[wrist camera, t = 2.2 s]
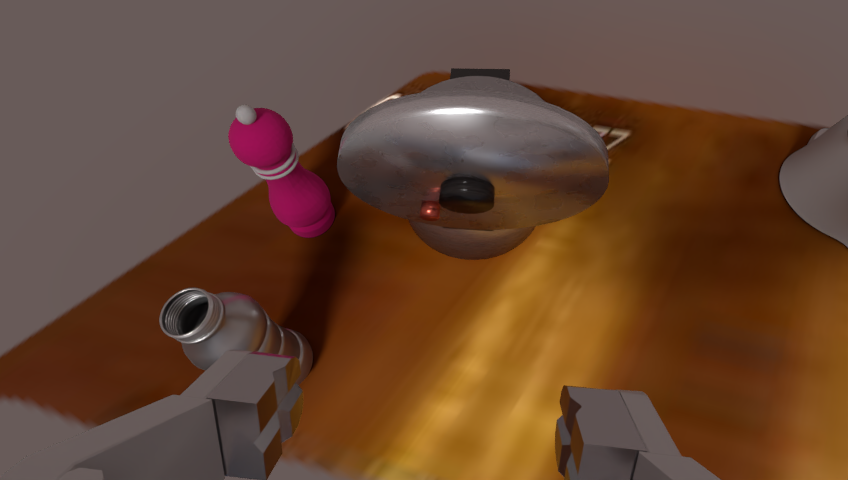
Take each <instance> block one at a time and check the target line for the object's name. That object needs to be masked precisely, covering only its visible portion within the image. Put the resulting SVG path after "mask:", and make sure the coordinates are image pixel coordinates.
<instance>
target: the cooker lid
mask: <svg viewBox="0 0 848 480" xmlns="http://www.w3.org/2000/svg"><path fill="white" fill-rule="evenodd" d="M337 170H338V174H339V177H340V179H341V180H342V182H343V183H344V185H345V186H346V187H347V188H348V189H349V190H350V191H351V192H352V193H353V194H354V195H355V196H357V197H358V198H360V199H361V200H363V201H364V202H366V203H368V204H370V205H371V206H373V207H375V208H378V209H380V210H382V211H384V212H387V213H390V214H392V215H395V216H398V217H401V218H404V219H408V220H412V221H416V222H420V223H425V224H430V225H435V226H441V227H449V228H459V229H473V230H502V229H516V228H525V227H533V226H538V225H543V224H548V223H552V222H556V221H559V220H562V219H565V218H568V217H571V216H573V215H575V214H578V213H580V212H582V211H583V210H585V209H587V208H589V207H590V206H591V205H593V204H594V203H596V202H597V201H598V200H599V199H600V198H601V197H602V195H603V194H604V192H605V191H606V189H607V186H608V182H609V168H608V150H607V148H606V145H605V143H604V141H603V139H602V138H601V136H600V135H599V134H598V132H597V131H596V130H595V129H593V128H592V127H591V126H590V125H589V124H588V123H587V122H585V121H584V120H582V119H581V118H579V117H578V116H576V115H574V114H573V113H571V112H568V111H566V110H564V109H562V108H560V107H558V106H555V105H552V104H549V103H547V102H544V101H541V100H538V99H534V98H530V97H525V96H521V95H517V94H511V93H504V92H497V91H488V90H472V89H461V90H439V91H430V92H422V93H417V94H412V95H407V96H402V97H399V98H396V99H393V100H389V101H386V102H384V103H382V104H379V105H377V106H375V107H373V108H370V109H369V110H367V111H366V112H364V113H362V114H361V115H359V116H358V117H357V118H356V119H355V120H354V121H353V122H351V123H350V124H349V126H348V127H347V129H346V130H345V132H344V134H343V136H342V139H341V143H340V149H339V154H338V160H337Z"/></svg>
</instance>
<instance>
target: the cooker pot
mask: <svg viewBox="0 0 848 480" xmlns="http://www.w3.org/2000/svg"><path fill="white" fill-rule="evenodd" d="M509 78H510V70H509V69H451V76H450V80H447V81H444V82H440V83H438V84H436V85H433V86H431V87H429V88H428V89H426V90H424V91H422V92H430V91H439V90H461V89H472V90H488V91H497V92H504V93H511V94H517V95H521V96H525V97H530V98H534V99H538V100H541V101H544V100H542V99H541V98H540V97H539V96H538V95H537V94H535V93H534V92H532V91H531V90H529V89H527V88H525V87H523V86H521V85H519V84H517V83H514V82H512V81H509ZM422 92H421V93H422ZM409 223H410V225H411V227H412V228H413V230H414V231H415V233H416V234H417V235H418V237H419V238H420V239H421V240H422V241H424V242H425V243H426V244H427V245H429V246H430V247H431V248H433V249H435V250H436V251H438V252H440V253H443V254H445V255H448V256H451V257H455V258H460V259H467V260H479V259H488V258H492V257H496V256H499V255H502V254H504V253H507V252H509V251H510V250H512V249H514V248H516V247H517V246H518V245H520V244H521V243H522V242H523V241H524V240H525V239H527V238H528V236H529V235H530V234H531V233H532V231H533V230H534V228H535V226H533V227H525V228H516V229H502V230H473V229H459V228H449V227H441V226H435V225H430V224H425V223H420V222H416V221H412V220H409Z"/></svg>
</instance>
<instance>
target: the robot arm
mask: <svg viewBox="0 0 848 480" xmlns="http://www.w3.org/2000/svg"><path fill="white" fill-rule="evenodd" d="M779 179H780V186H781V189H782V192H783V194H784V196H785V198H786V200H787V202H788V203H789V205H790V206H791V207H792V208H793V210H794V211H795V212H796V213H797V214H798V215H799V216H800V217H801V218H802V219H804V220H805V221H806V222H807V223H809V224H810V225H811V226H813V227H814V228H816V229H818V230H819V231H821V232H823V233H825V234H827V235H829V236H831V237H833V238H835V239H837V240H838V241H840V242H842V243H843V244H844V245H845V246H847V247H848V115H847V116H846V117H845V118H843V119H842V120H840V121H839V122H838V123H836V124H835V125H834V126H832V127H831V128H823V129H821V130H819V131H818V132H816V133H815V134H814V135H813V136H812V137H811V139H810V140H809V142H808V144H807V145H806V146H805V147H803V148H801V149H799V150H798V151H796V152H794V153H793V154H791V155H790V156H789V157H788V158H787V159H786V160H785V161H784V163H783V165H782V167H781V170H780V178H779ZM300 375H301V368H300V361H299V360H298V359H297V358H296V357H294V356H286V355H278V354H270V353H262V352H255V351H254V352H252V351H245V350H236V349H232V350H228V351H226V352H225V353H224V354H223V355H222V356H221V357H220V358H219V359H218V360H217V361H216V362H215V363H214V364H212V365H211V366H210V367H209V368H208V369H207V370H206V371H205V372H204V373H203V374H202V375H201V376H200V377H199V378H198V379H197V380H196V381H195V382H194V383H193V384H191V385H190V386H189V387H188V388H187V389H186V390H185V391H184V392H183V393H182V394H181V395H180V396H179V395H171V396H169V397H166V398H164V399H162V400H159V401H157V402H154V403H152V404H150V405H147V406H145V407H143V408H140V409H138V410H135V411H133V412H131V413H128V414H126V415H124V416H121V417H119V418H116V419H114V420H112V421H109V422H107V423H105V424H102V425H100V426H97V427H95V428H93V429H90V430H88V431H86V432H83V433H81V434H79V435H76V436H74V437H71V438H69V439H67V440H64V441H62V442H59V443H57V444H55V445H52V446H50V447H48V448H45V449H43V450H40V451H38V452H36V453H33V454H31V455H29V456H26V457H25V458H23V459H22V460H21V461H20V462H18V463H17V464H16V465H15V466H13V467H12V468H10V469H9V470H8V471H7V472H5V473H4V474H3V475H1V476H0V480H224V479H225V476H229V477H238V478H247V479H257V480H267V479H268V477H269V475H270V473H271V472H272V470H273V468H274V467H275V465H276V463H277V462H278V460H279V458H280V456H281V455H282V444H281V443H282V442H284V441H285V440H287V439H289V438H290V437H292V436H293V434H294V432H295V430H296V428H297V427H298V424H299V421H300V418H301V414H302V409H303V391H302V390H301V388H300V387H299V386H298V384H297V383H296V381H297V379H298V378H299V376H300ZM560 405H561V410H562V414H563V415H562V416H561V417H560V418H559V419H558V420H557V424H556V432H555V453H556V461H557V467H558V471H559V472H560V473H561V474H562V475H563V476H564V480H720V479H719V478H718V477H716V476H715V475H714V474H712V473H711V472H710V471H708V470H707V469H706V468H704V467H703V466H701V465H700V464H699V463H697V462H696V461H695V460H693V459H692V458H690V457H682V456H681V454H680V452H679V451H678V449H677V447H676V445H675V443H674V442H673V440H672V438H671V436H670V435H669V433H668V431H667V429H666V428H665V426H664V424H663V422H662V421H661V419H660V417H659V415H658V414H657V412H656V410H655V408H654V406H653V405H652V403H651V401H650V399H649V398H648V396H647V395H646V394H645V393H644V392H641V391H628V390H607V389H596V388H586V387H576V386H565V385H564V386H563V389H562V391H561V397H560Z"/></svg>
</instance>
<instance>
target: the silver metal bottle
mask: <svg viewBox="0 0 848 480" xmlns="http://www.w3.org/2000/svg"><path fill="white" fill-rule="evenodd" d="M159 321H160V326H161V329H162V330H163V332H164V333H166V334H167V335H168V336H170V337H172V338H175V339H176V340H178V341H180V342H182V348H183V350H184V353H185V354H186V356H187V357H188V358H189V360H190V361H191V362H192V363H193V364H194V365H195V366H197V367H198V368H201V369H203V370H207V369H208V368H209V367H210V366H211V365H212V364H214V363H215V362H216V361H217V360H218V359H219V358H220V357H221V356H222V355H223V354H224V353H225V352H226V351H228V350H232V349H236V350H245V351H252V352H254V351H255V352H262V353H270V354H278V355H286V356H294V357H296V358H297V359H298V360H299V361H300V368H301V375H300V376H299V378H298V379H297V381H296V383H297V384H298V385H299V384H300V383H301V382H302V381H303V380H304V379H305V378H306V377H307V375H308V374H309V372H310V370H311V367H312V363H313V352H312V348H311V346H310V344H309V342H308V341H307V339H306V338H305V337H304V336H303V335H302V334H300V333H299V332H296V331H294V330H291V329H287V328H283V327H281V326H279V325H277V324H276V323H275V322H274V321H273V320H271V319H270V318H269V316H268V315H267V314H266V312H265V311H264V310H263V308H262V307H261V306H260V305H259V304H258V303H257V302H256V301H255V300H254V299H253V298H251V297H250V296H248V295H245V294H241V293H233V292H224V293H220V294H216V295H214V294H212V293H208V292H206V291H205V290H202V289H199V288H187V289H184V290H181V291H179V292H177V293H176V294H174V295H173V296H172V297H171V298H170V299H169V300H168V301H167V302H166V303H165V305H164V306H163V308H162V310H161V314H160V319H159Z"/></svg>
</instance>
